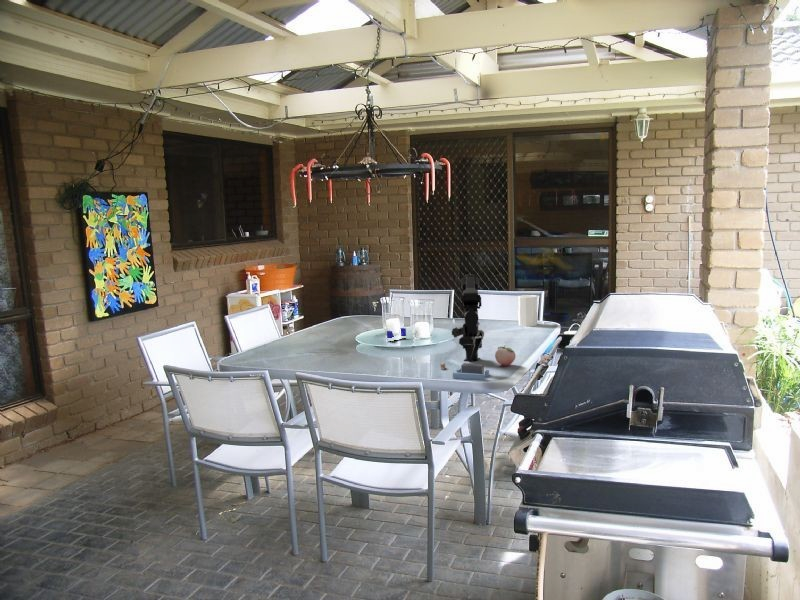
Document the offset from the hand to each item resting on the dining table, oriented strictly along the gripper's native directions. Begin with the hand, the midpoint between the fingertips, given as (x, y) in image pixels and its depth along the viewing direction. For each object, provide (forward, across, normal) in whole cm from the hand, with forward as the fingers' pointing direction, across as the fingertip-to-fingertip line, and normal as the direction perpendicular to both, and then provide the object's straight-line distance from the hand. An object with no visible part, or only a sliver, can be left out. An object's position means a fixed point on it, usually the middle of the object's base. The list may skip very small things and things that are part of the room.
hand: (472, 356), depth 269 cm
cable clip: (+9, -67, -64) cm, 93 cm away
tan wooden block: (+8, -8, -10) cm, 15 cm away
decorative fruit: (+9, -18, +10) cm, 22 cm away
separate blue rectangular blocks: (+8, 0, 0) cm, 9 cm away
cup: (+8, -120, +1) cm, 120 cm away
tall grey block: (+9, 0, 0) cm, 9 cm away
